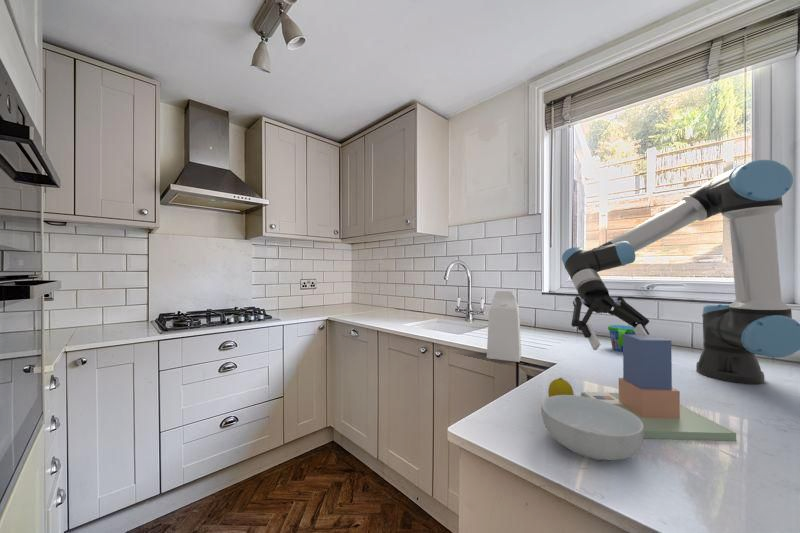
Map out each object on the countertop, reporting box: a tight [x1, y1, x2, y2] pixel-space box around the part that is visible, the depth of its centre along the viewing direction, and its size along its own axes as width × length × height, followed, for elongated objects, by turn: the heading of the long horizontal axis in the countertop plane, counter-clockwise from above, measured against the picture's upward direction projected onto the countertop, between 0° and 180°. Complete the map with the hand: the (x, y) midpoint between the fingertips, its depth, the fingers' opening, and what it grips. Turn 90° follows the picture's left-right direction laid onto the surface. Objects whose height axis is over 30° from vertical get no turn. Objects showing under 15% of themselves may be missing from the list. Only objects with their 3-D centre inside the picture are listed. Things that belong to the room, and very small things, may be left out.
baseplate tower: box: [580, 377, 737, 442], centre depth 73 cm, size 20×20×8 cm
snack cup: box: [607, 324, 636, 353], centre depth 132 cm, size 16×10×10 cm
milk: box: [486, 290, 522, 363], centre depth 124 cm, size 12×12×26 cm
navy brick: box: [622, 334, 673, 390], centre depth 73 cm, size 6×6×11 cm
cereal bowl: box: [540, 394, 644, 461], centre depth 60 cm, size 17×17×7 cm
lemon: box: [548, 377, 575, 397], centre depth 76 cm, size 6×6×8 cm
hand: (623, 347), depth 81 cm, fingers open, 13 cm apart
